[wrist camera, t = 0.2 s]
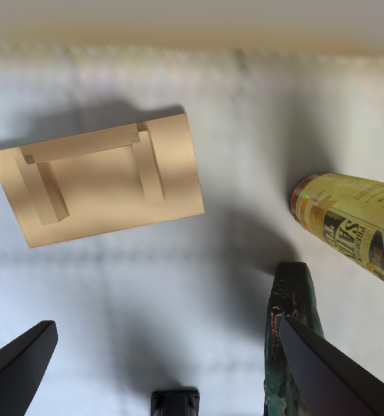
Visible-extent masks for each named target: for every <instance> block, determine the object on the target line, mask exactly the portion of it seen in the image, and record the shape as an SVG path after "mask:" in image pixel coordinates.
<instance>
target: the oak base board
mask: <svg viewBox="0 0 384 416" xmlns="http://www.w3.org/2000/svg"><path fill="white" fill-rule="evenodd" d="M0 183H1V185H2V187H3V189H4V192H5V194H6V196H7V198H8V201H9V203H10V205H11V207H12V210H13V212H14V214H15V216H16V219H17V221H18V223H19V225H20V228H21V230H22V232H23V234H24V237H25V239H26V241H27V243H28V246H29V248H35V247H39V246H44V245H49V244H54V243H59V242H64V241H69V240H74V239H79V238H84V237H89V236H94V235H99V234H104V233H109V232H114V231H119V230H124V229H129V228H134V227H139V226H144V225H149V224H154V223H159V222H164V221H169V220H174V219H179V218H184V217H189V216H194V215H199V214H204V213H205V211H204V206H203V200H202V195H201V189H200V184H199V179H198V173H197V168H196V162H195V157H194V151H193V146H192V140H191V135H190V130H189V124H188V119H187V113H184V114H179V115H174V116H169V117H164V118H159V119H154V120H149V121H144V122H139V123H132V124H127V125H122V126H117V127H112V128H107V129H102V130H97V131H92V132H87V133H82V134H77V135H72V136H67V137H62V138H57V139H52V140H47V141H42V142H37V143H32V144H27V145H22V146H19V147H14V148H9V149H4V150H0Z"/></svg>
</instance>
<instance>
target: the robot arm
mask: <svg viewBox="0 0 384 416" xmlns="http://www.w3.org/2000/svg"><path fill="white" fill-rule="evenodd" d="M279 336H280V340H281V342H282V345H283V348H284V351H285V354H286V357H287V360H288V363H289V366H290V369H291V372H292V374H293V377H294V380H295V382H296V385H297V387H298V389H299V391H300V394H301V396H302V398H303V400H304V403H305V405H306V407H307V409H308V412H309V414H310V416H384V383H383V382H381V381H380V380H379V379H377V378H376V377H375V376H373V375H372V374H371V373H369V372H368V371H367V370H365V369H364V368H363V367H361V366H360V365H359V364H357V363H356V362H355V361H353V360H352V359H351V358H349V357H348V356H346V355H345V354H344V353H342V352H341V351H340V350H338V349H337V348H336V347H334V346H333V345H332V344H330V343H329V342H328V341H326V340H325V339H324V338H322V337H321V336H320V335H318V334H317V333H315V332H314V331H313V330H311V329H310V328H309V327H307V326H306V325H305V324H303V323H302V322H301V321H299V320H298V319H297V318H295V317H294V316H283V317H282V319H281V324H280V330H279ZM57 342H58V334H57V328H56V323H55V321H53V320H44V321H41V322H40V323H38V324H37V325H35V326H34V327H32V328H31V329H29V330H28V331H26V332H25V333H23V334H22V335H20V336H19V337H17V338H16V339H14V340H13V341H11V342H10V343H9V344H7V345H6V346H4V347H3V348H1V349H0V416H24V415H25V413H26V411H27V409H28V407H29V405H30V403H31V401H32V399H33V397H34V395H35V393H36V391H37V389H38V387H39V385H40V383H41V380H42V378H43V376H44V373H45V371H46V369H47V366H48V364H49V361H50V359H51V357H52V354H53V352H54V350H55V347H56V345H57ZM199 400H200V394H199V392H198V391H179V392H153V393H152V396H151V416H198V412H199Z"/></svg>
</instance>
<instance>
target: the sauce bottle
mask: <svg viewBox="0 0 384 416" xmlns="http://www.w3.org/2000/svg"><path fill="white" fill-rule="evenodd" d="M290 207H291V212H292V215H293V216H294V219H295V220H296V221H297V222H298V223H300V224H301V226H302V227H303V228H304V229H306V230H307V231H309V232H310V233H312V234H313V235H315V236H316V237H318V238H319V239H321V240H322V241H324V242H325V243H327V244H328V245H330V246H331V247H333V248H334V249H336V250H337V251H339V252H340V253H342V254H343V255H345V256H346V257H348V258H349V259H351V260H352V261H354V262H355V263H357V264H358V265H360V266H361V267H362V268H364V269H366V270H367V271H369V272H370V273H372V274H373V275H375V276H376V277H378V278H379V279H381V280H382V281H384V183H383V182H379V181H374V180H369V179H364V178H359V177H354V176H348V175H343V174H339V173H330V174H329V173H325V172H322V173H316V174H312V175H310V176H308V177H306V178H304V179H303V180H302V181H301V182H300V183H299V184H298V185H297V186H296V187H295V188H294V190H293V193H292V195H291V198H290Z"/></svg>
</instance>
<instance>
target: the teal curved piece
mask: <svg viewBox="0 0 384 416" xmlns="http://www.w3.org/2000/svg"><path fill="white" fill-rule="evenodd" d="M283 316H294V317H295V318H297V319H298V320H299V321H301V322H302V323H303V324H305V325H306V326H307V327H309V328H310V329H311V330H313V331H314V332H315V333H317V334H318V335H320V336H321V337H322V338H324V334H323V330H322V326H321V323H320V319H319V316H318V312H317V309H316V298H315V291H314V286H313V281H312V278H311V274H310V271H309V268H308V266H307V265H306V263H304V262H292V263H279V265H278V268H277V273H276V275H275V278H274V281H273V287H272V289H271V295H270V299H269V303H268V308H267V322H266V331H265V349H264V356H265V380H264V391H265V402H264V415H263V416H310V414H309V412H308V409H307V407H306V405H305V403H304V400H303V398H302V396H301V394H300V391H299V389H298V387H297V385H296V382H295V380H294V377H293V374H292V372H291V369H290V366H289V363H288V360H287V357H286V354H285V351H284V348H283V345H282V342H281V340H280V336H279V330H280V324H281V319H282V317H283Z"/></svg>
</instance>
